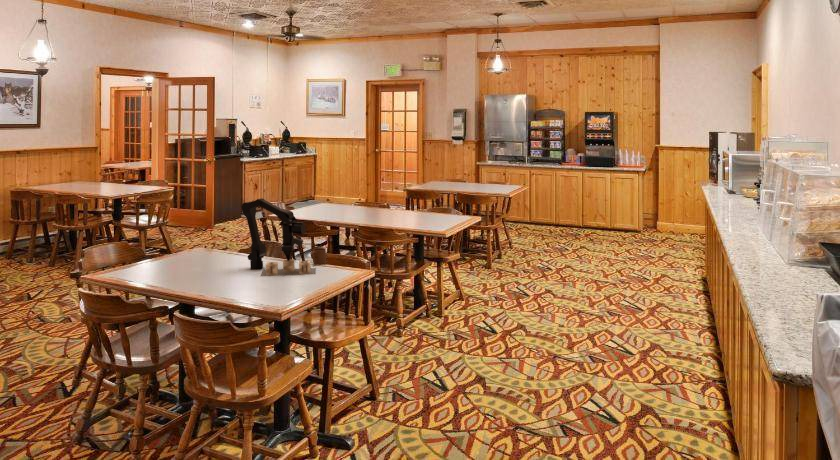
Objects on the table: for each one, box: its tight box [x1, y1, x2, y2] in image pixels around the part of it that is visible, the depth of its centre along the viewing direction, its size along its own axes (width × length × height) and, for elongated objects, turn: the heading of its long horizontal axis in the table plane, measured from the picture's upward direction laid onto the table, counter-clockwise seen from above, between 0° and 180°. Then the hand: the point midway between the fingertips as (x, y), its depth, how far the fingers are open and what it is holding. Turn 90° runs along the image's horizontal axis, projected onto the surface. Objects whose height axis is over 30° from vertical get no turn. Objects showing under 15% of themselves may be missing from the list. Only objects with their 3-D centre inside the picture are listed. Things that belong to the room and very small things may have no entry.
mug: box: [310, 247, 327, 266], centre depth 364 cm, size 12×8×9 cm, turn 153°
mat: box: [260, 267, 317, 277], centre depth 344 cm, size 30×16×1 cm, turn 99°
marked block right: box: [298, 260, 311, 275], centre depth 342 cm, size 6×6×6 cm
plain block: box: [282, 258, 296, 272], centre depth 346 cm, size 6×6×6 cm
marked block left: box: [265, 261, 279, 275], centre depth 339 cm, size 6×6×6 cm
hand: (288, 260), depth 346 cm, fingers closed
